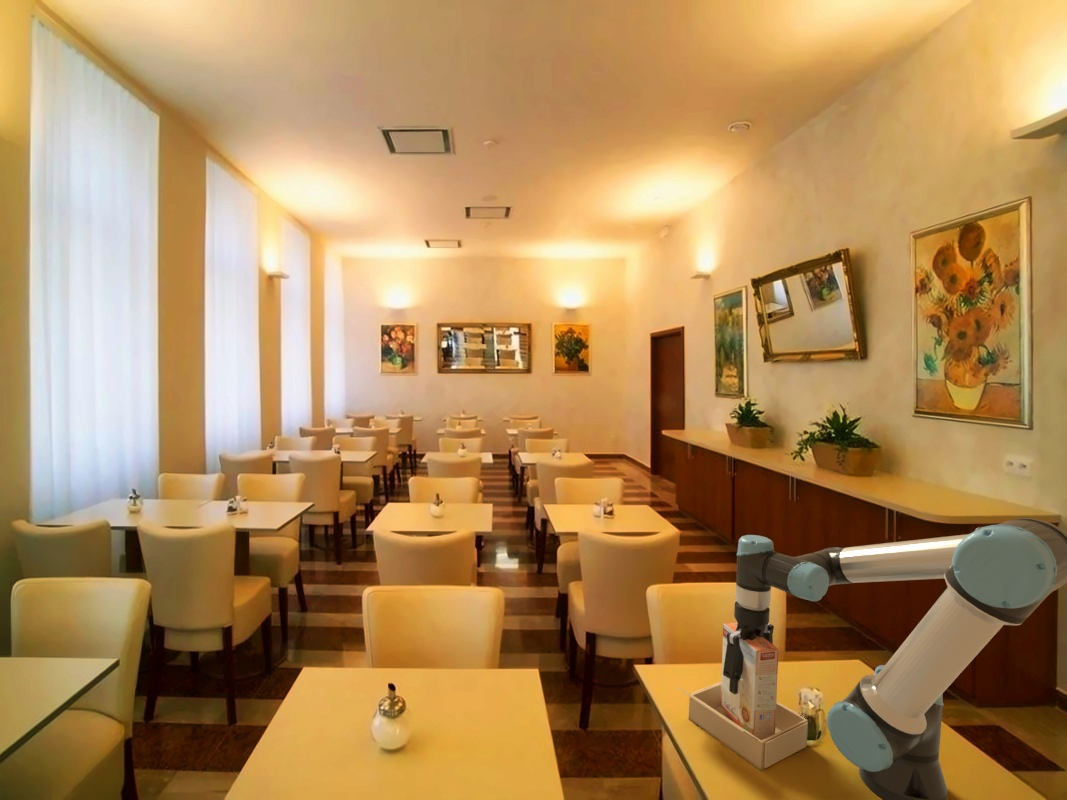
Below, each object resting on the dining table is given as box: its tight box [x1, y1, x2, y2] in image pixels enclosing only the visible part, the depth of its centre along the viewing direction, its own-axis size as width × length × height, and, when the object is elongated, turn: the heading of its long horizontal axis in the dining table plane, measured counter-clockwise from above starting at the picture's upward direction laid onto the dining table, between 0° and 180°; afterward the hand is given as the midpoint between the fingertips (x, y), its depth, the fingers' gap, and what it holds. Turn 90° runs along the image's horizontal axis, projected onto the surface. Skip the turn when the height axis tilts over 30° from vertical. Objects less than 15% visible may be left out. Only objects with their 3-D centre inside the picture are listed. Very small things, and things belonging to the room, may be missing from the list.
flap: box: [676, 686, 758, 741], centre depth 126 cm, size 19×1×6 cm
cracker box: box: [720, 622, 779, 740], centre depth 131 cm, size 14×6×21 cm, turn 11°
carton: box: [688, 681, 809, 771], centre depth 132 cm, size 21×16×6 cm
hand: (747, 700), depth 131 cm, fingers closed on cracker box, 7 cm apart
